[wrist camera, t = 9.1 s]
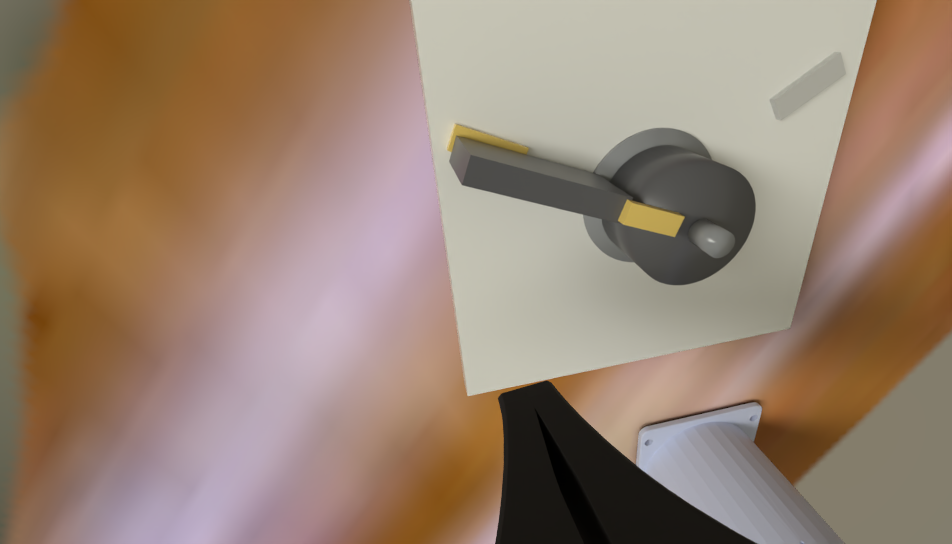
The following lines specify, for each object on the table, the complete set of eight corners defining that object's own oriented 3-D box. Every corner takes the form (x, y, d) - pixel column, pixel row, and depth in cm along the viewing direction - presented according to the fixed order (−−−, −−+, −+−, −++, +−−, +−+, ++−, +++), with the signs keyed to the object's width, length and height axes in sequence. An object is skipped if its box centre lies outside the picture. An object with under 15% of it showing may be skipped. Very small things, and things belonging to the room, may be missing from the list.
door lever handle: (591, -3, 16) (640, -9, 13) (725, 199, 21) (782, 229, 18) (439, 152, 18) (452, 178, 15) (596, 308, 22) (630, 352, 19)
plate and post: (776, 318, 27) (873, 389, 22) (464, 382, 25) (488, 478, 20) (871, -68, 18) (1069, -104, 13) (406, -20, 16) (421, -41, 11)
